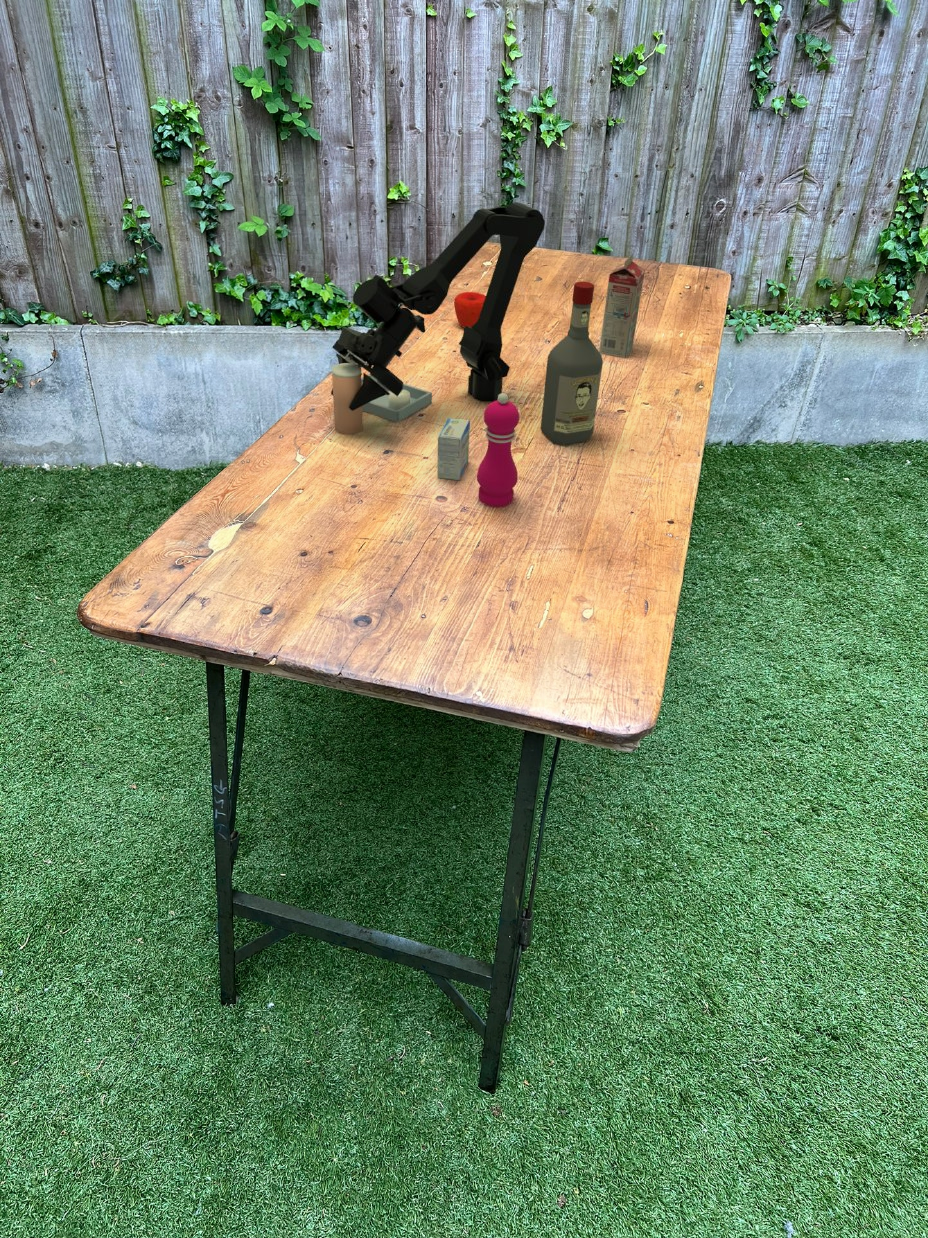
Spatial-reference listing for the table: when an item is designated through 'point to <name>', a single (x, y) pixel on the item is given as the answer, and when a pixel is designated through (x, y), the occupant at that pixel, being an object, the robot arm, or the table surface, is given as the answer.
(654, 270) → the table surface
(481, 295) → the apple
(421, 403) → the grey shallow tray
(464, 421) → the medicine box
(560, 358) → the liquor
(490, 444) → the pepper mill
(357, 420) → the coffee tin
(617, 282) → the juice carton
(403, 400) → the cream dome ball
